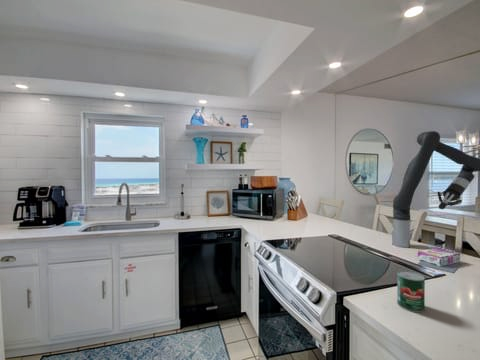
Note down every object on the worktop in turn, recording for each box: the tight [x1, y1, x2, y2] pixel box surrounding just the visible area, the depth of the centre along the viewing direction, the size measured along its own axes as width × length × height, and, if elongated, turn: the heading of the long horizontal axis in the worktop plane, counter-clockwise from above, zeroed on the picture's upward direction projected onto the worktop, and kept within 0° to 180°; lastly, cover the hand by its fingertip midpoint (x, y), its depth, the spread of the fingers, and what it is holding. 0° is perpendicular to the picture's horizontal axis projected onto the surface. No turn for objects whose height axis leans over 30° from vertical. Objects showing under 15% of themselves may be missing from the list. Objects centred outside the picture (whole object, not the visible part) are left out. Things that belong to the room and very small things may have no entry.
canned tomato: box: [396, 270, 426, 313], centre depth 83 cm, size 8×8×11 cm
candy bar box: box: [417, 247, 461, 266], centre depth 126 cm, size 11×5×16 cm
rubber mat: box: [417, 260, 462, 274], centre depth 123 cm, size 14×18×1 cm
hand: (440, 208), depth 144 cm, fingers closed
